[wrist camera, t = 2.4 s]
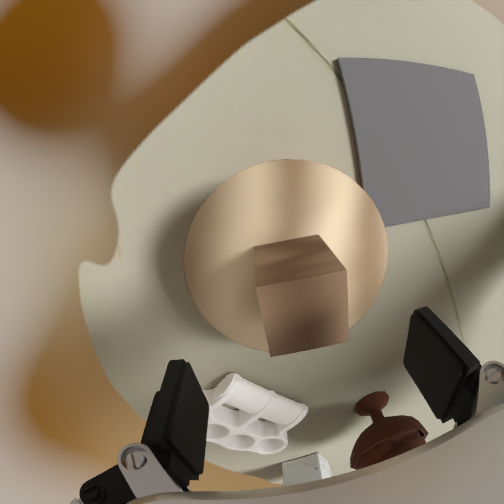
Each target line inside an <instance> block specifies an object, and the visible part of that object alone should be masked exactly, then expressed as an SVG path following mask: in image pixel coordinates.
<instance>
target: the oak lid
mask: <svg viewBox="0 0 504 504" xmlns="http://www.w3.org/2000/svg"><path fill="white" fill-rule="evenodd" d="M387 262H388V242H387V235H386V230H385V226H384V223H383V220H382V218H381V215H380V213H379V211H378V209H377V207H376V206H375V204H374V202H373V201H372V200H371V198H370V197H369V196H368V194H367V193H366V192H365V191H364V190H363V189H362V188H361V187H360V186H359V185H358V184H357V183H356V182H355V181H353V180H352V179H351V178H349V177H348V176H346V175H345V174H343V173H341V172H340V171H338V170H336V169H334V168H332V167H329V166H326V165H323V164H320V163H317V162H311V161H306V160H293V159H284V160H274V161H268V162H264V163H260V164H257V165H254V166H252V167H249V168H247V169H244V170H242V171H240V172H239V173H237V174H235V175H233V176H232V177H230V178H229V179H227V180H226V181H225V182H224V183H222V184H221V185H220V186H219V187H217V188H216V189H215V190H214V192H213V193H212V194H211V195H210V196H209V197H208V198H207V199H206V200H205V202H204V203H203V204H202V206H201V207H200V209H199V210H198V212H197V214H196V215H195V217H194V219H193V221H192V223H191V226H190V229H189V232H188V235H187V238H186V243H185V248H184V272H185V279H186V283H187V287H188V290H189V292H190V295H191V297H192V300H193V301H194V303H195V305H196V307H197V308H198V310H199V311H200V313H201V314H202V315H203V317H204V318H205V319H206V320H207V321H208V322H209V323H210V324H211V325H212V326H213V327H214V328H215V329H216V330H217V331H219V332H220V333H221V334H223V335H224V336H226V337H227V338H229V339H231V340H232V341H234V342H236V343H239V344H241V345H243V346H246V347H249V348H252V349H256V350H261V351H266V352H270V357H273V356H279V355H284V354H290V353H295V352H300V351H306V350H310V349H315V348H320V347H325V346H329V345H333V344H338V343H342V342H346V341H349V329H350V328H351V327H352V326H353V325H355V324H356V323H357V322H358V321H359V320H360V319H361V318H362V317H363V315H364V314H365V313H366V312H367V310H368V309H369V308H370V306H371V305H372V303H373V302H374V300H375V298H376V297H377V295H378V292H379V290H380V288H381V286H382V283H383V280H384V277H385V273H386V268H387Z"/></svg>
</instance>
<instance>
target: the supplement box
mask: <svg viewBox="0 0 504 504" xmlns="http://www.w3.org/2000/svg"><path fill="white" fill-rule="evenodd" d="M282 471H283V484H284V486H288V485H294V484H300V483H306V482H311V481H316V480H320V479H325V478H329V477H331V472H330V467H329V463H328V462H327V461H326V460H325V459H324V458H323V457H322V456H321V455H320V454H319V453H315V454H313V455H309V456H306V457H303V458H299V459H295V460H291V461H287V462H283V463H282Z"/></svg>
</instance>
